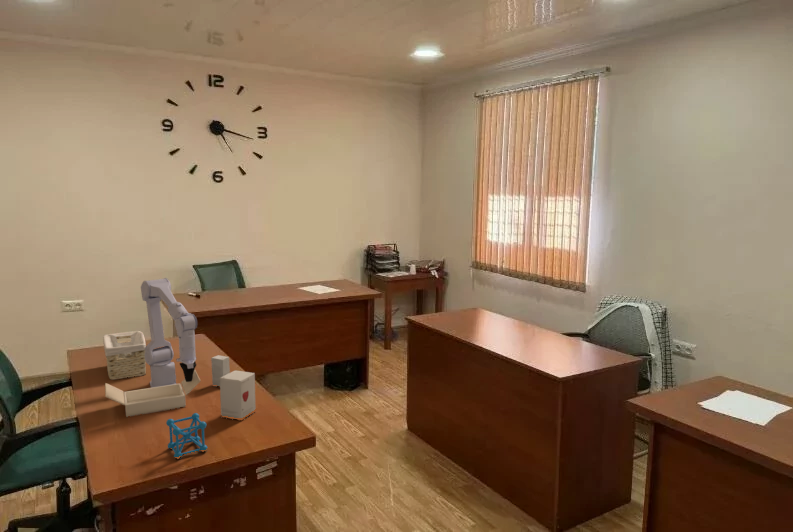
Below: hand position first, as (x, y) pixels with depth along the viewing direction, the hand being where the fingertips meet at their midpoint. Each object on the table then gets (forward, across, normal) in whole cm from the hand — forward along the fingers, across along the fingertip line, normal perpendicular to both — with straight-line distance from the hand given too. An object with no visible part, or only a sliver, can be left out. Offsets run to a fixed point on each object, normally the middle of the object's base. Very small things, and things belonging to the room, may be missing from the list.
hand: (188, 381), depth 214 cm
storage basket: (+8, -47, -20) cm, 52 cm away
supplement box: (+8, +23, +14) cm, 28 cm away
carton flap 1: (+1, 0, -25) cm, 25 cm away
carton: (+7, 0, -12) cm, 14 cm away
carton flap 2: (0, 0, +1) cm, 1 cm away
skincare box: (+8, -10, +14) cm, 19 cm away
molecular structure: (+8, +43, -6) cm, 44 cm away
